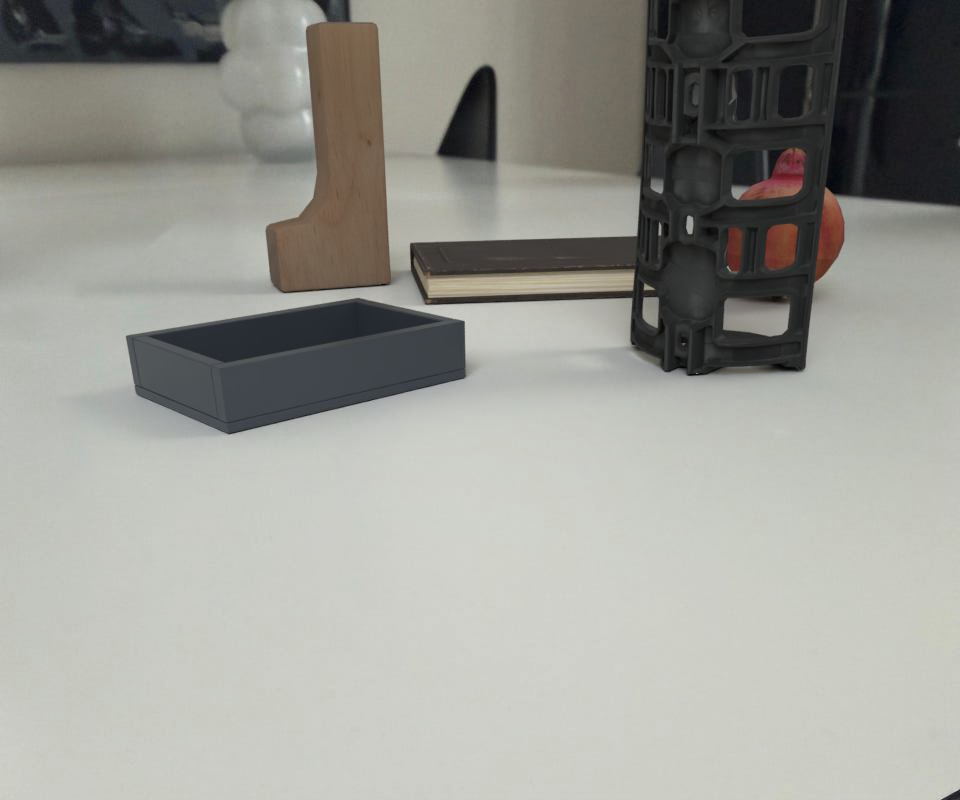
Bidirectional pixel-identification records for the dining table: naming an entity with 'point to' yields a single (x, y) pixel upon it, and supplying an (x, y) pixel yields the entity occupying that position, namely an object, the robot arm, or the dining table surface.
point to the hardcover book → (526, 269)
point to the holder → (727, 182)
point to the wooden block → (339, 170)
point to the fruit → (785, 236)
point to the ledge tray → (295, 361)
